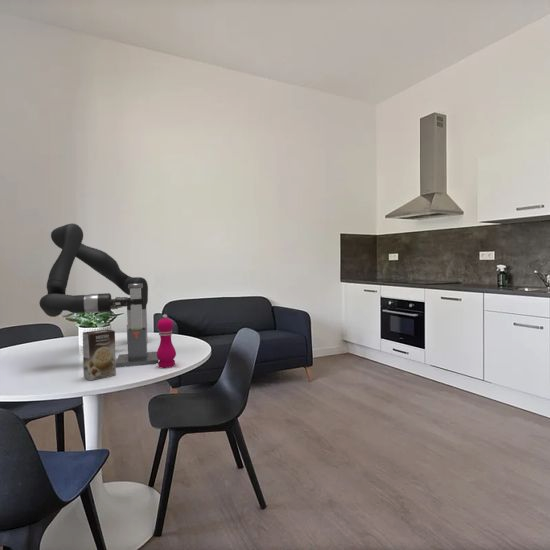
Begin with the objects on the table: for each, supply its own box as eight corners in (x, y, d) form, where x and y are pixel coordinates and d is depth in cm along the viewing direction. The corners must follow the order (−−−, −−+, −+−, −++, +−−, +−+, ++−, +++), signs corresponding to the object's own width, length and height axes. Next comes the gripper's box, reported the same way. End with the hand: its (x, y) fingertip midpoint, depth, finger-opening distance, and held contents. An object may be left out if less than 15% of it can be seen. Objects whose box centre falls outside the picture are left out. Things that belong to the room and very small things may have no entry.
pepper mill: (159, 369, 148) (157, 316, 147) (155, 365, 154) (153, 314, 154) (178, 366, 151) (176, 314, 150) (173, 362, 157) (172, 312, 157)
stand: (114, 367, 152) (113, 333, 152) (119, 358, 167) (118, 327, 167) (158, 363, 156) (157, 330, 156) (158, 354, 172) (157, 325, 171)
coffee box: (90, 381, 135) (88, 334, 134) (83, 377, 139) (81, 332, 139) (116, 375, 141) (115, 330, 141) (109, 372, 146) (107, 328, 145)
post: (129, 343, 158) (127, 284, 157) (130, 340, 164) (128, 283, 163) (144, 342, 160) (142, 284, 159) (144, 339, 165) (142, 283, 164)
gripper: (94, 295, 150) (142, 293, 155) (100, 292, 164) (143, 290, 169) (95, 314, 150) (142, 312, 155) (101, 310, 164) (144, 308, 169)
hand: (143, 301), depth 162 cm, fingers closed on post, 4 cm apart
